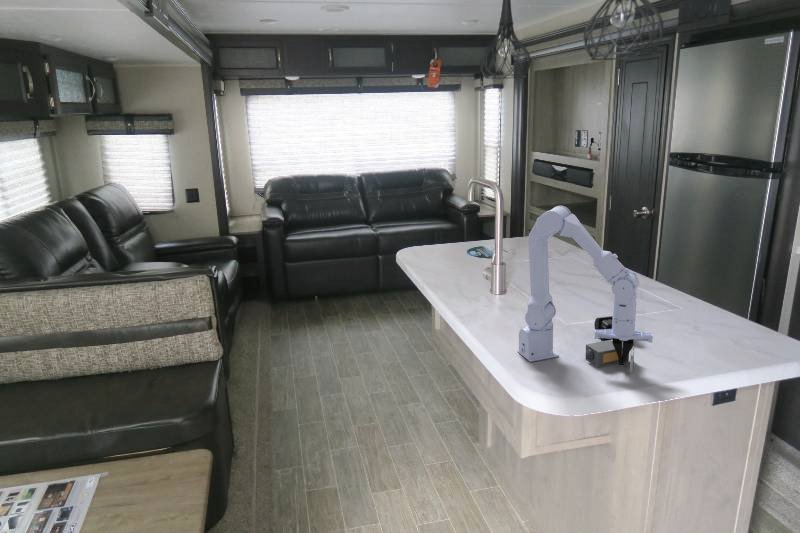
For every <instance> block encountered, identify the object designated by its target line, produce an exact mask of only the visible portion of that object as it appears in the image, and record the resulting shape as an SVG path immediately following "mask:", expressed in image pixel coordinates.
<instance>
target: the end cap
mask: <svg viewBox="0 0 800 533" xmlns="http://www.w3.org/2000/svg"><path fill="white" fill-rule="evenodd" d="M612 320H613V315H611V316H610V315H609V316H600V317H596V318H595V320H594V324H593V325H594V331H595V330H605V329H612ZM599 339H600V340H601V341H607V340H612V339H607V338H599Z"/></svg>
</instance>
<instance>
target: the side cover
mask: <svg viewBox="0 0 800 533" xmlns="http://www.w3.org/2000/svg"><path fill="white" fill-rule="evenodd" d="M634 362H635V346H633V347H632V349H631V350H630V356H629V374H632V373H633V368H634Z"/></svg>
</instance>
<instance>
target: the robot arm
mask: <svg viewBox="0 0 800 533" xmlns="http://www.w3.org/2000/svg"><path fill="white" fill-rule="evenodd" d="M559 232H560V233H559ZM557 233H559V236H560V237H564V238H565V237H567V238H572V239H573V240H574V241H575V242H576V243H577V244H578V245H579V246H580V247H581V248H582V249H583V250H584V251H585V252H586V253H587V254H588V255H589V257H590V258H592V266H593V267H594V268H595V269H596V270H597V272H598V273H599V274H600V275H601V276H602V278H604V279H605V280H606V282H607V283H608V284H609V285H611V287H610V288H611V291H612V294H613V304H612V316H613V320H612V329H605V330H595V329H594V339H596V340H599V339H600V338H607V339H612V343H613V346H614V348H615V350H616V353H617V356H618V360H619V363H618V365H619V366H625V365H626V362H625V361H626V358H627V356H628V354H629V355H630V353H631V349H632V347H634V341H636V342H638V341H639V342H647V343H651V344H652V343H653V336H654V335H653V333H652V332H651V333H650V332H644V331H640V330H639V331H638V330H636V317H637V315H636V314H637V292H636V291H637V289H638V288H639V285H640V281H639V280H640V279H639V277H637V274H636V273H634V272H633V271H631V270H630V269H629V268H626V267H625V266H624V265H623V264H622V263H621V262H620V261H619V259H618V258H619V256H618V255H617V254H616V253H612V252H611V251H610V250H609V251H608V250H604V249H603V248H602V247H601V246H600V245H599V243H598V242H596V239H594V238H593V236H592V235H591V234H590V233H589V231H588V230H587V229H586V228H585V227H584V225H583V224H582V223H581V222H580V220H579V218H577V216H576V215H575V214H574V213H572V212H571V210H570V209H569V208H568V207H566V206H564V205H556V206H553V208H552V209H550V210H547V211H545V212H543V213H542V214H541V215H539V216H538V217H537V218H536V221H535V223H534V224H533V227H532V228H531V230H530V231H529V234H528V237H527V238H528V254H529V257H528V258H529V259H528V260H529V282H530V284H529V285H530V298H529V300H528V303H527V310H526V313H525V316H524V320H525V324H526V326H525V327H523V328H521V329H519V332H518V350H517V353H518V354H520V355H521V356H523V358H525V359H526V360H527V361H529V362H538V361H542V360H547V359H552V358H558V357H559V356H560V355H559V353H557V352H556V351H554V322H553V318H554V317H555V316H556V312H557V310H556V306H555V304H554V302H553V296H552V294H551V293H550V277H549V276H550V275H549V247H548V246H549V245H548V240H550V238H551V237H553V235H555V234H557ZM622 342H623V352H622Z"/></svg>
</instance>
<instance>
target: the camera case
mask: <svg viewBox="0 0 800 533" xmlns="http://www.w3.org/2000/svg"><path fill="white" fill-rule="evenodd" d="M622 352H623V341H622ZM585 360H586V361H588V362H589V363H591V364H592V365H594V366H595V367H597V368H601V367H602V368H603V367H606V366H611V365H615V364H619V360H618V356H617V353H616V350H615V348H614V346H613V343H612V340H607V341H603V340H601V341H597V342H592V343H586V344H585ZM627 362H630V353H629V354H628V356H627V358H626V361H625V363H627Z"/></svg>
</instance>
